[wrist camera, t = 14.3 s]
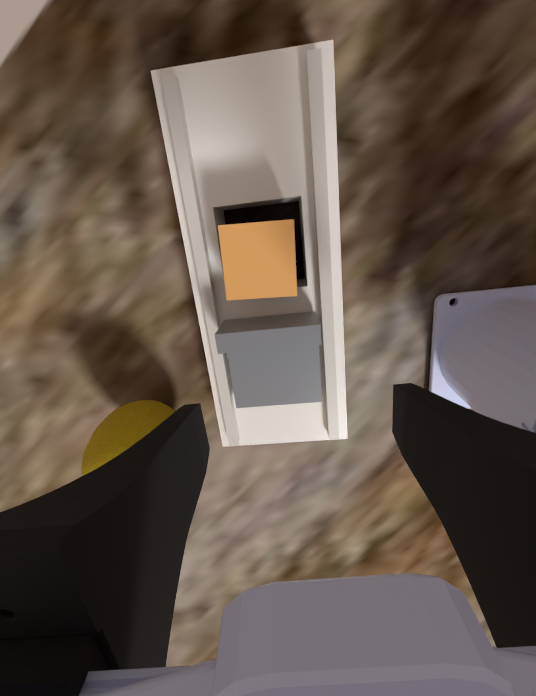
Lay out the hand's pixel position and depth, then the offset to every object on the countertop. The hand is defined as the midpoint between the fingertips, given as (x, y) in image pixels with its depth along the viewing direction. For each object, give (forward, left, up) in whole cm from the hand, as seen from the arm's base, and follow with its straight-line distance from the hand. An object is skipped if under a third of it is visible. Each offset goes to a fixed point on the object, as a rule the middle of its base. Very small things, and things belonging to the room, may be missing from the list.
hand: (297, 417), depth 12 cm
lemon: (+10, +5, -10) cm, 15 cm away
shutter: (+1, 0, -7) cm, 7 cm away
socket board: (+1, -4, -10) cm, 11 cm away
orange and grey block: (+1, -5, -10) cm, 11 cm away
